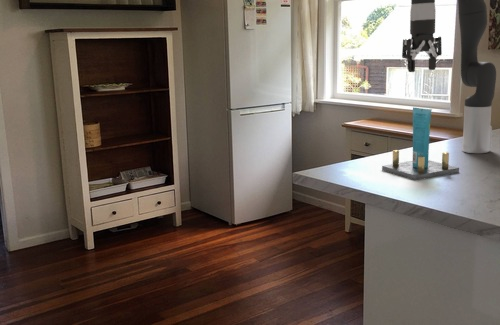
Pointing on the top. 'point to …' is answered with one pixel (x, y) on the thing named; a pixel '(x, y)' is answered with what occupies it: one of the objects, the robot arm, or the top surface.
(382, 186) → the top surface
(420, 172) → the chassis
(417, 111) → the tube
